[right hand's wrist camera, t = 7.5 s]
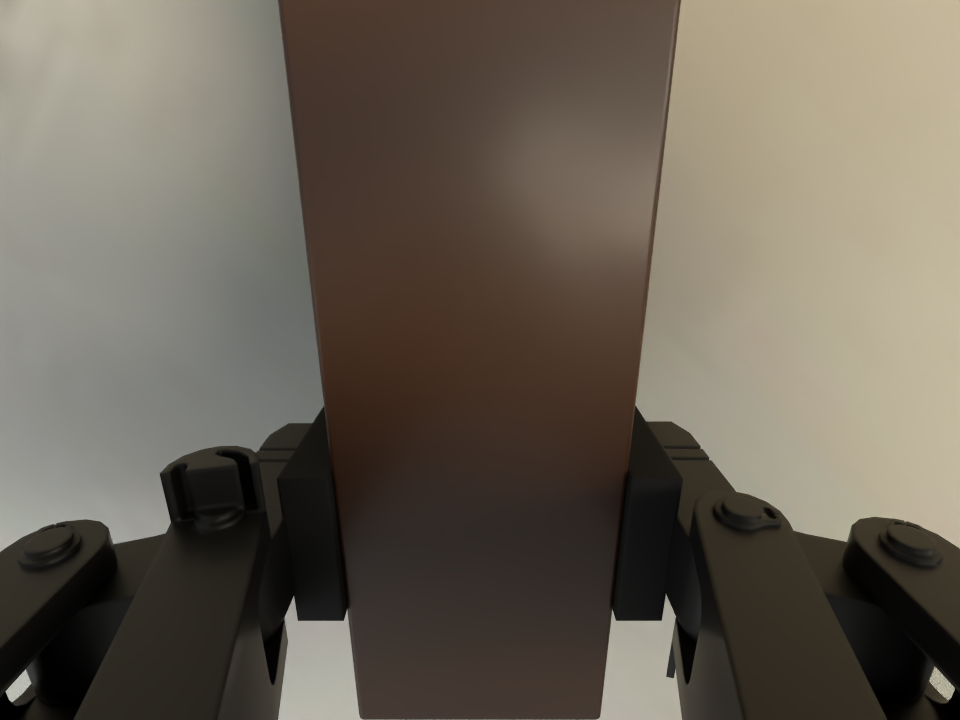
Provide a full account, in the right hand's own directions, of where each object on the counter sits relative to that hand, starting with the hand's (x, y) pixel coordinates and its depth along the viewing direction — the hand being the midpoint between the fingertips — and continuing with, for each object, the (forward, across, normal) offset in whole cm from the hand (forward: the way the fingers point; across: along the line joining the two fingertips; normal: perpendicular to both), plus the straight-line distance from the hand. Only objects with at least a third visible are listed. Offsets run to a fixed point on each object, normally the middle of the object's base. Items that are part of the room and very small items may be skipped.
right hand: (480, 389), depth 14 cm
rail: (+2, 0, -12) cm, 12 cm away
